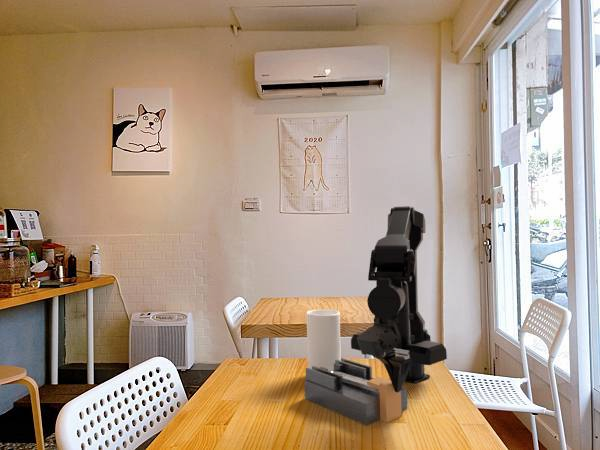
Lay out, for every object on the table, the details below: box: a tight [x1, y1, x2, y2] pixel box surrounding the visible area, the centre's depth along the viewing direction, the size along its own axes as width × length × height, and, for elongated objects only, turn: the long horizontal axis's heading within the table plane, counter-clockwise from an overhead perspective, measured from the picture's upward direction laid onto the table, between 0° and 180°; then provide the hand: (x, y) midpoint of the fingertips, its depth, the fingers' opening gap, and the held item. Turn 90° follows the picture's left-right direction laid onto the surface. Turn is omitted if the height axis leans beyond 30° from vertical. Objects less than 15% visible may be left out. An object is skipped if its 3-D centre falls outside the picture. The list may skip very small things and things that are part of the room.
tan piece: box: [367, 376, 403, 424], centre depth 88 cm, size 4×5×7 cm
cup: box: [306, 308, 342, 371], centre depth 112 cm, size 8×8×16 cm
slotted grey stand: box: [303, 357, 408, 427], centre depth 94 cm, size 12×18×6 cm, turn 39°
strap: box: [330, 370, 380, 392], centre depth 95 cm, size 14×3×1 cm, turn 39°
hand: (397, 391), depth 85 cm, fingers closed
